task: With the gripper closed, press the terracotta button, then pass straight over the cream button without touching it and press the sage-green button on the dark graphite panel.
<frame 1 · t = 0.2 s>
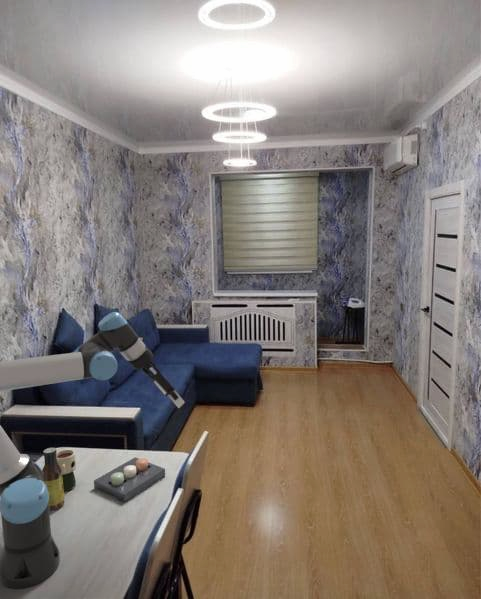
hand: (174, 398, 152), 35 cm above the table, tool tilted 35°, fingers open, 13 cm apart
terracotta button: (142, 465, 170), point 4 cm above the table, slide at 0.0 cm
character mug: (66, 487, 163), on the table
sage button: (117, 480, 160), point 4 cm above the table, slide at 0.0 cm
cream button: (130, 472, 165), point 4 cm above the table, slide at 0.0 cm
sauce bottle: (54, 505, 152), on the table
panel: (130, 482, 166), on the table
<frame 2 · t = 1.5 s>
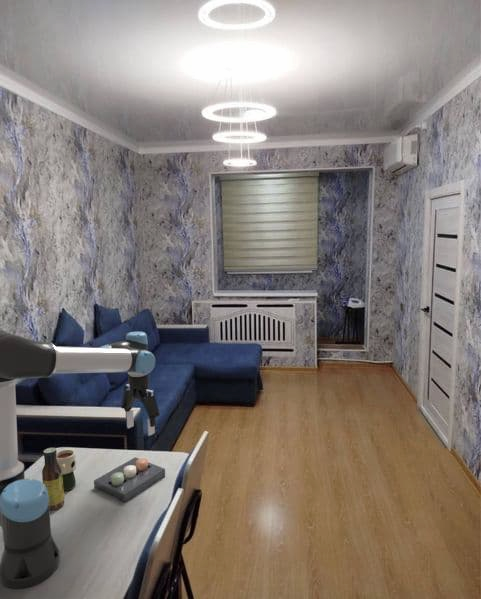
hand: (140, 430, 168), 18 cm above the table, tool pointing down, fingers open, 10 cm apart
nothing on the table moved.
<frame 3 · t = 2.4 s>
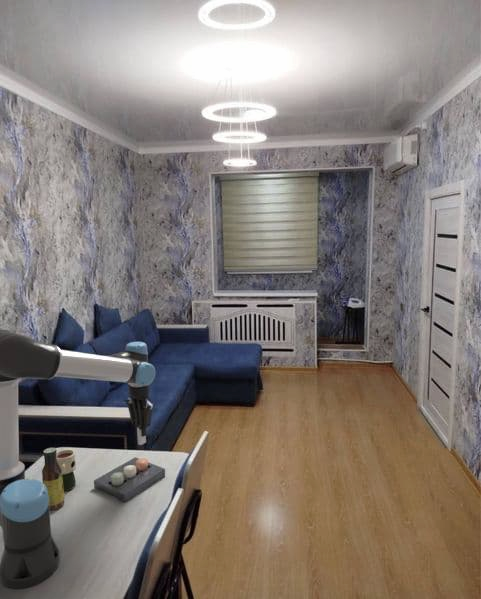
hand: (142, 443, 169), 13 cm above the table, tool pointing down, fingers closed
nothing on the table moved.
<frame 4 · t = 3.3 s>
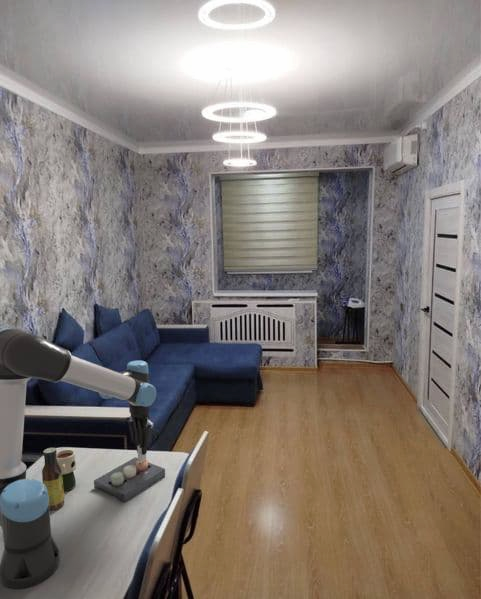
hand: (142, 461, 170), 5 cm above the table, tool pointing down, fingers closed
terracotta button: (142, 466, 170), point 3 cm above the table, slide at 0.3 cm, touching gripper
everything else where it was.
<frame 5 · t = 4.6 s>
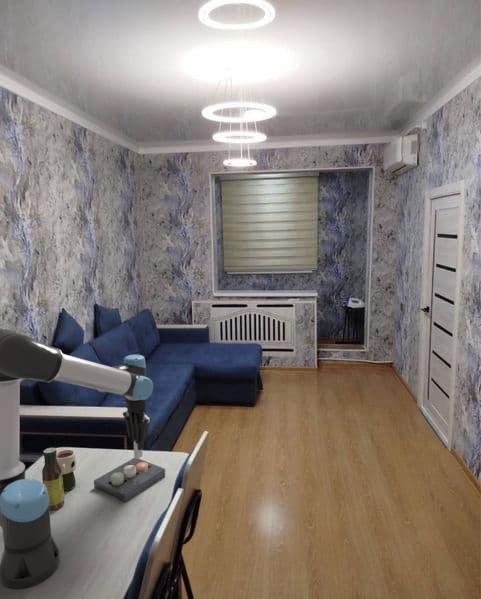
hand: (138, 456, 168), 8 cm above the table, tool pointing down, fingers closed
terracotta button: (142, 469, 170), point 2 cm above the table, slide at 1.5 cm
everything else where it was.
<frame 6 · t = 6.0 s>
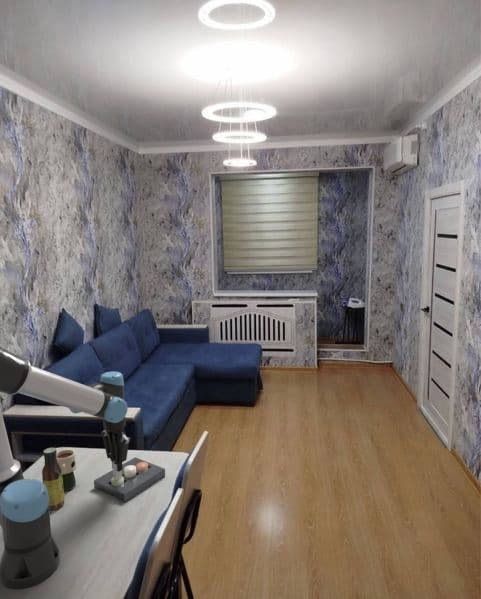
hand: (117, 478, 160), 4 cm above the table, tool pointing down, fingers closed
sage button: (117, 483, 160), point 2 cm above the table, slide at 1.3 cm, touching gripper
everything else where it was.
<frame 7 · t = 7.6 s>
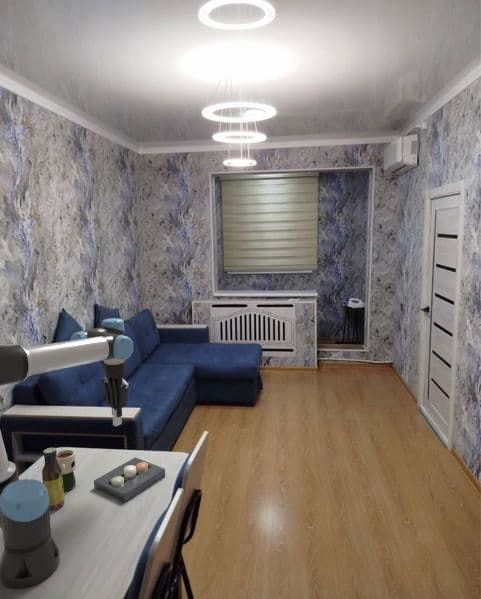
hand: (117, 424, 163), 22 cm above the table, tool pointing down, fingers closed
sage button: (117, 484, 160), point 2 cm above the table, slide at 1.5 cm
everything else where it was.
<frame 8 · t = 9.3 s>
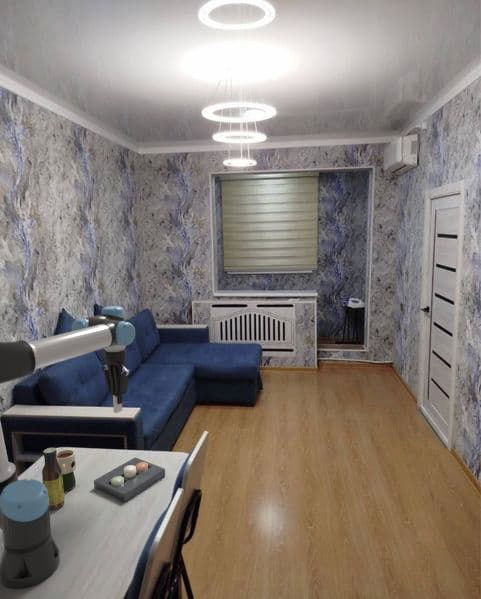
hand: (118, 411, 164), 26 cm above the table, tool pointing down, fingers closed
nothing on the table moved.
at the end: terracotta button slide at 1.5 cm; sage button slide at 1.5 cm; cream button slide at 0.0 cm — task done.
